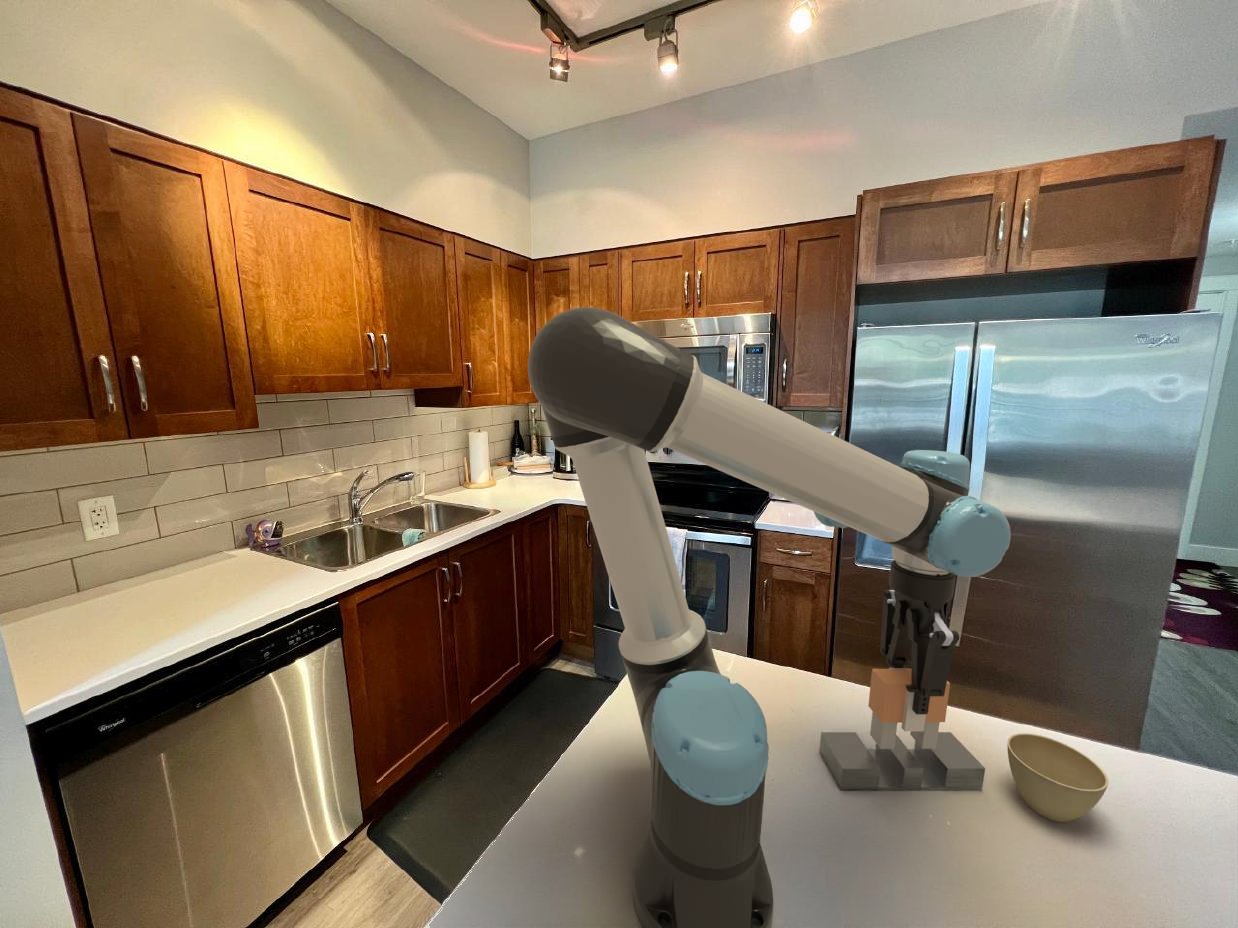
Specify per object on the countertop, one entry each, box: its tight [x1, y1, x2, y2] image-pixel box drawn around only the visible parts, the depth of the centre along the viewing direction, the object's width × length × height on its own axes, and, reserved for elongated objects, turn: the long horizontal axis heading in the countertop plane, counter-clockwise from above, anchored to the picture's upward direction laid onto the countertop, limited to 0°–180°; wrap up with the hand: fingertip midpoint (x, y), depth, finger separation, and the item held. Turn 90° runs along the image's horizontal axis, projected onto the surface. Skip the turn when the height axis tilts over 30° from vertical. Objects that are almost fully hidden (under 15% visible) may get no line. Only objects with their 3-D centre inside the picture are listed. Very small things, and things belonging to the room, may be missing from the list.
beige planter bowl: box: [1007, 732, 1109, 823], centre depth 65 cm, size 10×10×7 cm
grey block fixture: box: [818, 731, 986, 792], centre depth 71 cm, size 20×7×4 cm, turn 91°
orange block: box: [867, 668, 951, 749], centre depth 69 cm, size 9×4×10 cm, turn 91°
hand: (903, 718), depth 70 cm, fingers closed on orange block, 3 cm apart
